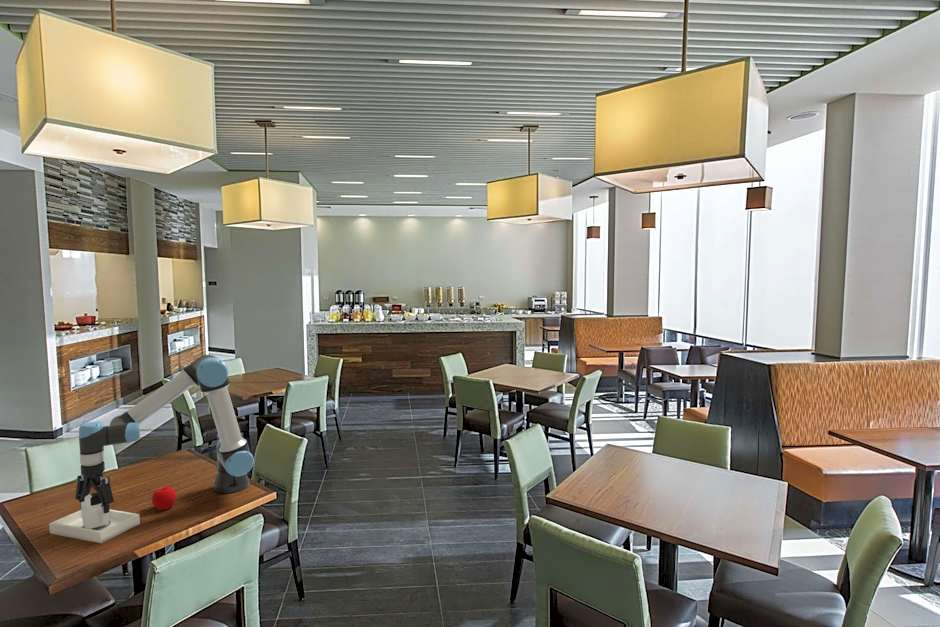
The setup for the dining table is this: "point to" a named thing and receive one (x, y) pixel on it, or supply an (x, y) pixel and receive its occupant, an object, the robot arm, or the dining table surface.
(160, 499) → the fruit
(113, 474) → the dining table surface
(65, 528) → the tray
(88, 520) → the medicine bottle
